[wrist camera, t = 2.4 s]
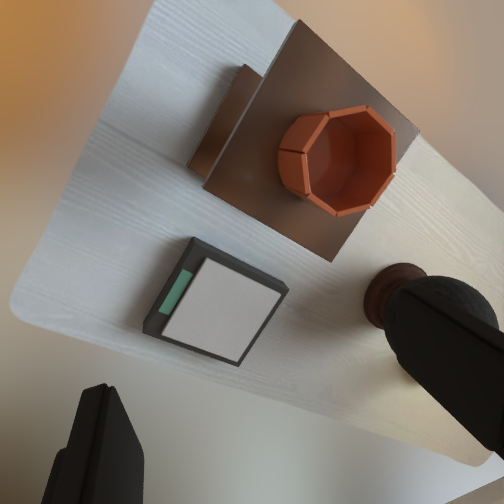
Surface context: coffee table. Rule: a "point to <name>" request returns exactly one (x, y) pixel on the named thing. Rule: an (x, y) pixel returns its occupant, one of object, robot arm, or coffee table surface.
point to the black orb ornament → (405, 274)
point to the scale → (214, 304)
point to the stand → (274, 128)
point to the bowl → (338, 159)
